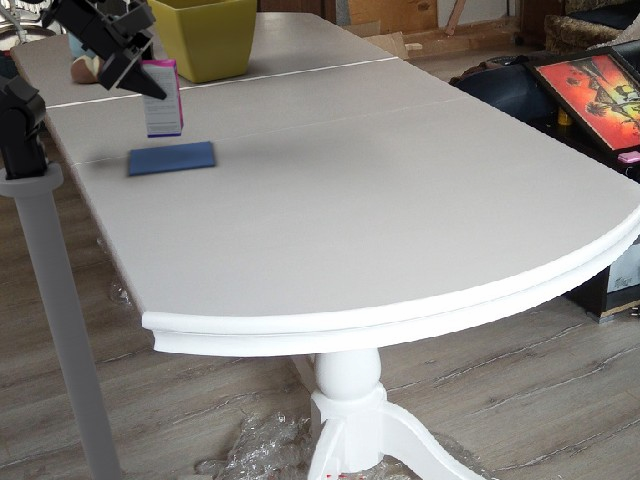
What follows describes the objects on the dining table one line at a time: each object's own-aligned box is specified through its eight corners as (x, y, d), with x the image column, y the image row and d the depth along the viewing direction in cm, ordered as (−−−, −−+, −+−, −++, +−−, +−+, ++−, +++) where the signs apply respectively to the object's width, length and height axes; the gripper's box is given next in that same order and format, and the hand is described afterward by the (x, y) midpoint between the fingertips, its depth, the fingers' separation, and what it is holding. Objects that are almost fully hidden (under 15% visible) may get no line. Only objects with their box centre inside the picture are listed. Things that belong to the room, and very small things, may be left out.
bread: (70, 86, 185) (65, 63, 183) (76, 73, 195) (71, 52, 192) (119, 81, 186) (115, 59, 184) (123, 69, 196) (119, 48, 194)
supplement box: (182, 136, 136) (172, 66, 130) (146, 138, 136) (135, 68, 130) (185, 125, 141) (176, 57, 135) (151, 127, 141) (139, 59, 135)
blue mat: (129, 175, 135) (129, 173, 134) (131, 152, 145) (130, 149, 145) (214, 166, 137) (214, 163, 136) (210, 143, 147) (210, 141, 146)
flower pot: (266, 74, 185) (258, -4, 176) (188, 90, 177) (176, 9, 168) (231, 59, 199) (222, -15, 191) (157, 73, 191) (144, -3, 183)
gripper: (104, -4, 118) (190, 71, 124) (131, -24, 134) (206, 42, 140) (61, 54, 123) (146, 124, 128) (93, 28, 138) (167, 90, 144)
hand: (168, 92), depth 135 cm, fingers closed on supplement box, 6 cm apart
